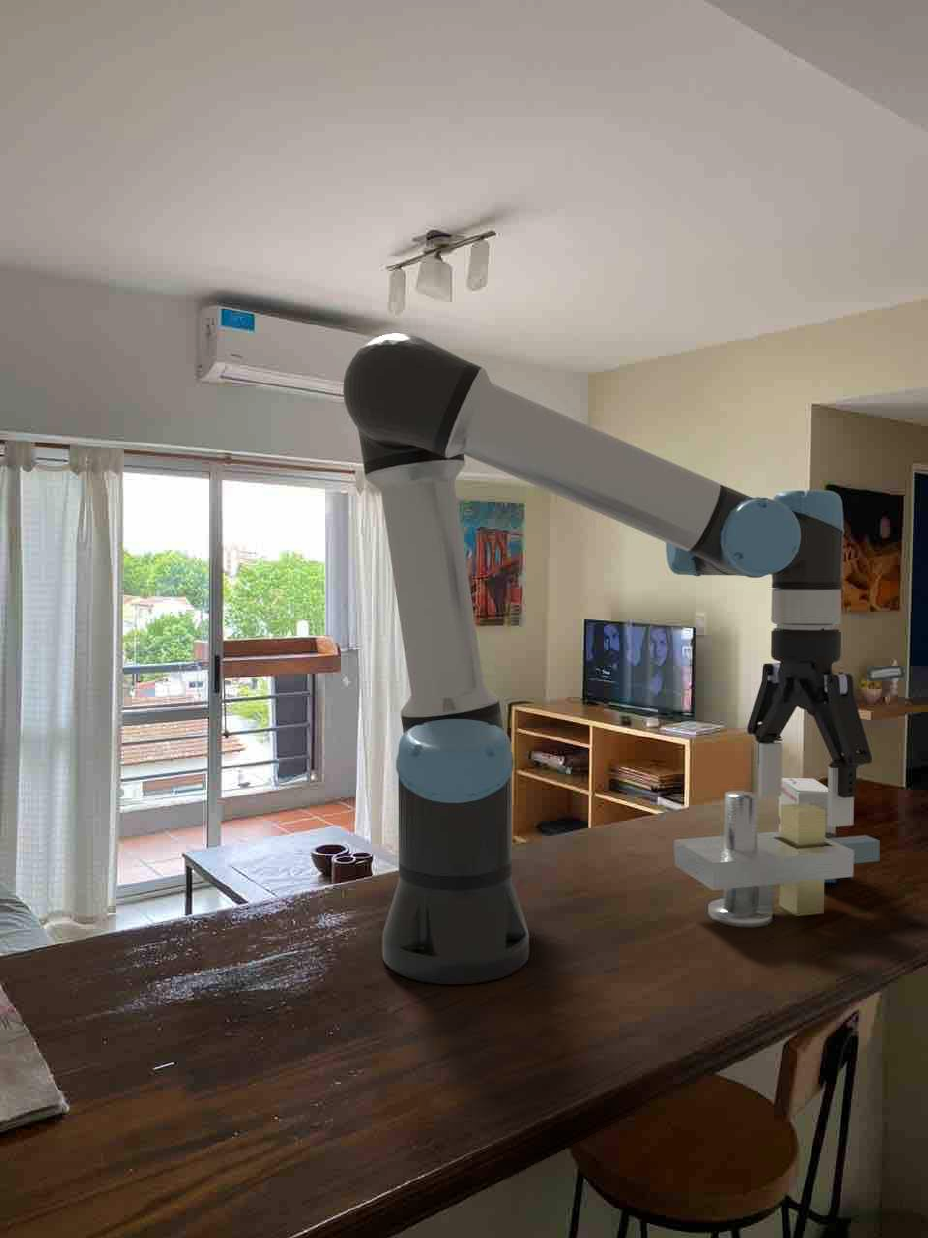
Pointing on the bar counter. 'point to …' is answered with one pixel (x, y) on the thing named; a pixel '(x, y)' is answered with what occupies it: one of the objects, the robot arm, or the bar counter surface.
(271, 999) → the bar counter surface
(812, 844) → the pale yellow rectangular block
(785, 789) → the ink box
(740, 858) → the slotted post fixture
